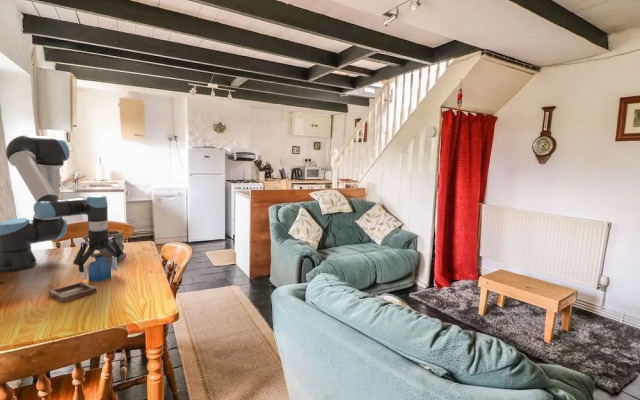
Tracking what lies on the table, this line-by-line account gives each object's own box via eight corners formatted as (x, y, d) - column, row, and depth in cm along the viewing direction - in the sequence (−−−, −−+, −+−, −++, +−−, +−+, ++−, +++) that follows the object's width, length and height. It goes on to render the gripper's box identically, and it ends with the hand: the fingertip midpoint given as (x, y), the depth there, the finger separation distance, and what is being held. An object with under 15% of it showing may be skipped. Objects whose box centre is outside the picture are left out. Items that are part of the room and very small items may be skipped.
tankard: (118, 252, 193) (118, 227, 191) (129, 257, 186) (128, 231, 184) (78, 260, 177) (77, 232, 175) (88, 265, 170) (86, 237, 168)
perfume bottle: (100, 282, 150) (99, 256, 149) (88, 280, 152) (87, 255, 150) (111, 277, 157) (110, 252, 155) (100, 275, 158) (99, 251, 156)
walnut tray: (48, 295, 135) (48, 290, 134) (81, 285, 145) (81, 281, 145) (64, 302, 129) (63, 298, 129) (96, 292, 140) (96, 287, 139)
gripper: (71, 235, 138) (74, 284, 141) (129, 226, 160) (131, 268, 163) (62, 233, 142) (64, 280, 145) (120, 223, 164) (121, 265, 166)
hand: (100, 274), depth 154 cm, fingers open, 13 cm apart
